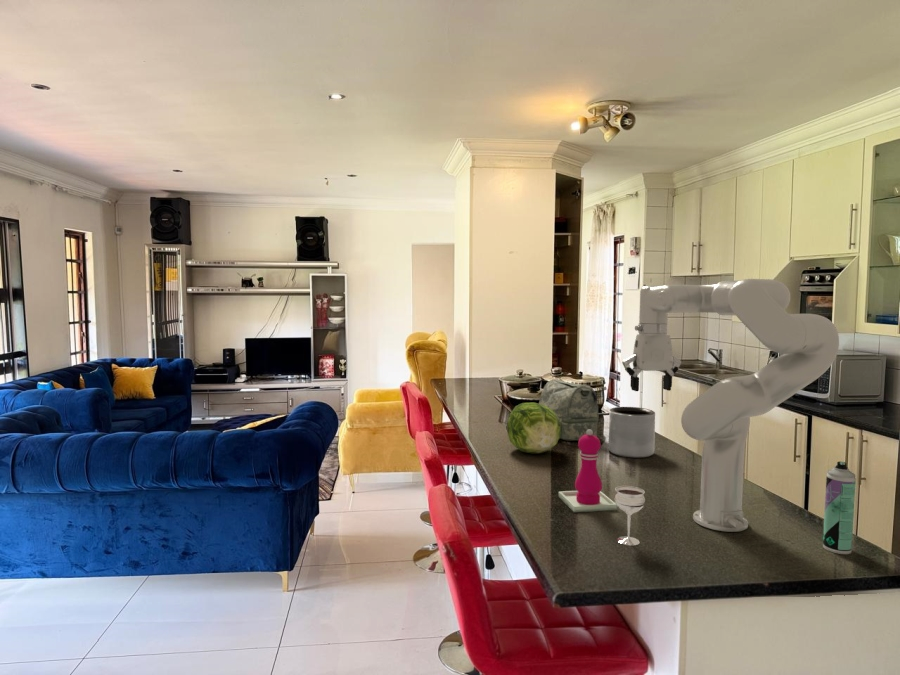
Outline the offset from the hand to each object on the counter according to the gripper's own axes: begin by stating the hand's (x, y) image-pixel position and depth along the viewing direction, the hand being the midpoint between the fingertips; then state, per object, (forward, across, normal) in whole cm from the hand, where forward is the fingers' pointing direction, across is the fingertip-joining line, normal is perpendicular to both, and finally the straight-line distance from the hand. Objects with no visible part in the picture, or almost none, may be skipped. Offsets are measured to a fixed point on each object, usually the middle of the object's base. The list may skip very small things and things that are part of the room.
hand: (651, 390), depth 167 cm
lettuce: (+31, -18, +48) cm, 60 cm away
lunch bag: (+31, +3, +73) cm, 79 cm away
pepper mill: (+30, -20, -4) cm, 36 cm away
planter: (+31, +16, +43) cm, 55 cm away
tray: (+30, -20, -4) cm, 37 cm away
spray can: (+31, +25, -40) cm, 56 cm away
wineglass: (+31, -20, -29) cm, 47 cm away
